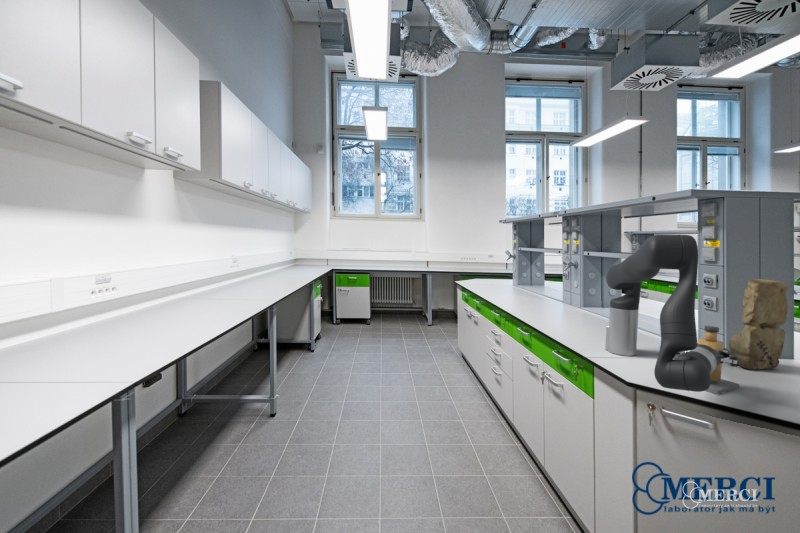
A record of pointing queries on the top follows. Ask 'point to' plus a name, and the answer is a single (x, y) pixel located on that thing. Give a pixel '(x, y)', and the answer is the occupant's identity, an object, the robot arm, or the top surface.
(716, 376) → the bottle
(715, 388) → the mat
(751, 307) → the sculpture
